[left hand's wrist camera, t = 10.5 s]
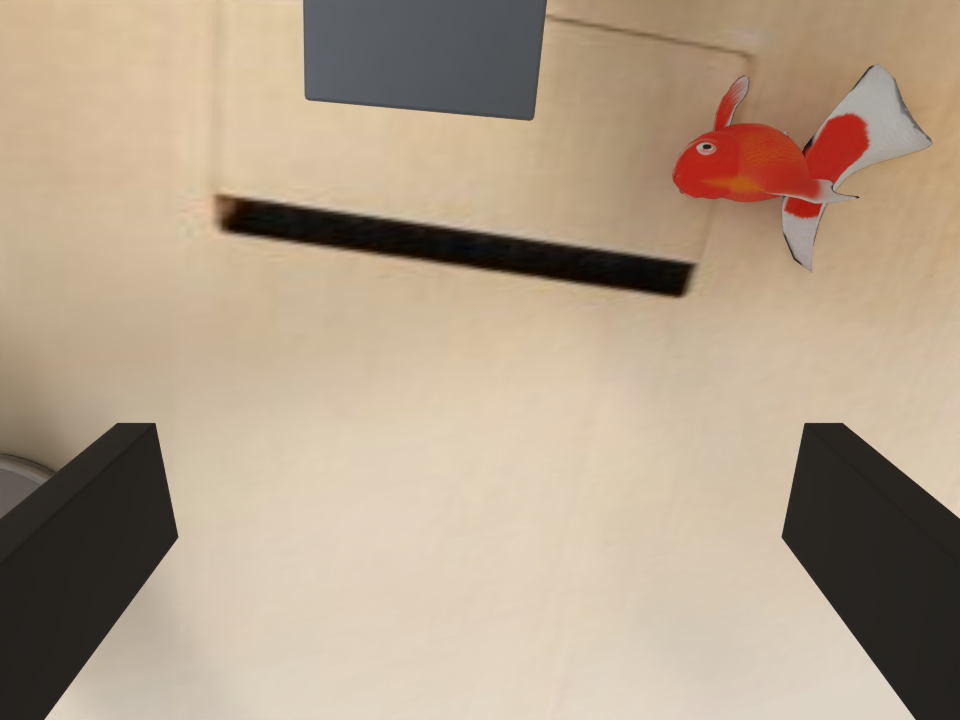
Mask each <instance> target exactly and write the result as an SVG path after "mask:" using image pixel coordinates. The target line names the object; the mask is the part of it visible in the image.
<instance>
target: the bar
mask: <svg viewBox="0 0 960 720" xmlns="http://www.w3.org/2000/svg"><path fill="white" fill-rule="evenodd" d="M546 4H547V0H303V16H304V80H305V98H306V99H307V100H310V101H321V102H332V103H343V104H354V105H365V106H376V107H386V108H397V109H408V110H419V111H430V112H441V113H452V114H463V115H473V116H484V117H495V118H506V119H517V120H528V121H530V120H533V118H534V114H535V105H536V95H537V86H538V77H539V68H540V59H541V50H542V41H543V31H544V22H545V13H546Z"/></svg>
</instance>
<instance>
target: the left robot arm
mask: <svg viewBox="0 0 960 720" xmlns="http://www.w3.org/2000/svg"><path fill="white" fill-rule="evenodd" d="M177 538H178V533H177V528H176V523H175V518H174V513H173V508H172V503H171V498H170V493H169V488H168V483H167V478H166V473H165V469H164V464H163V459H162V454H161V449H160V444H159V439H158V434H157V429H156V424H155V423H117V424H116V425H114V426H113V427H112V428H111V429H110V430H108V431H107V432H106V433H105V434H103V435H102V436H101V437H100V438H99V439H97V440H96V441H95V442H94V443H92V444H91V445H90V446H89V447H87V448H86V449H85V450H84V451H83V452H81V453H80V454H79V455H78V456H76V457H75V458H74V459H73V460H72V461H70V462H69V463H68V464H67V465H65V466H64V467H63V468H62V469H61V470H59V471H58V472H57V473H54V472H52V471H51V470H49V469H47V468H45V467H43V466H41V465H38V464H36V463H33V462H31V461H28V460H25V459H22V458H18V457H14V456H9V455H3V454H0V720H44V719H45V718H46V717H47V715H48V714H49V713H50V711H51V710H52V709H53V707H54V706H55V704H56V703H57V702H58V700H59V699H60V698H61V696H62V695H63V694H64V692H65V691H66V689H67V688H68V687H69V685H70V684H71V683H72V681H73V680H74V679H75V677H76V676H77V675H78V673H79V672H80V670H81V669H82V668H83V666H84V665H85V664H86V662H87V661H88V660H89V658H90V657H91V655H92V654H93V653H94V651H95V650H96V649H97V647H98V646H99V645H100V643H101V642H102V641H103V639H104V638H105V636H106V635H107V634H108V632H109V631H110V630H111V628H112V627H113V626H114V624H115V623H116V621H117V620H118V619H119V617H120V616H121V615H122V613H123V612H124V611H125V609H126V608H127V606H128V605H129V604H130V602H131V601H132V600H133V598H134V597H135V596H136V594H137V593H138V592H139V590H140V589H141V587H142V586H143V585H144V583H145V582H146V581H147V579H148V578H149V577H150V575H151V574H152V572H153V571H154V570H155V568H156V567H157V566H158V564H159V563H160V562H161V560H162V559H163V558H164V556H165V555H166V553H167V552H168V551H169V549H170V548H171V547H172V545H173V544H174V543H175V541H176V540H177ZM782 538H783V540H784V541H785V543H786V544H787V545H788V547H789V548H790V549H791V551H792V552H793V553H794V555H795V556H796V558H797V559H798V560H799V562H800V563H801V564H802V566H803V567H804V568H805V570H806V571H807V572H808V574H809V575H810V577H811V578H812V579H813V581H814V582H815V583H816V585H817V586H818V587H819V589H820V590H821V592H822V593H823V594H824V596H825V597H826V598H827V600H828V601H829V602H830V604H831V605H832V606H833V608H834V609H835V611H836V612H837V613H838V615H839V616H840V617H841V619H842V620H843V621H844V623H845V624H846V626H847V627H848V628H849V630H850V631H851V632H852V634H853V635H854V636H855V638H856V639H857V641H858V642H859V643H860V645H861V646H862V647H863V649H864V650H865V651H866V653H867V654H868V655H869V657H870V658H871V660H872V661H873V662H874V664H875V665H876V666H877V668H878V669H879V670H880V672H881V673H882V674H883V676H884V677H885V679H886V680H887V681H888V683H889V684H890V685H891V687H892V688H893V689H894V691H895V692H896V694H897V695H898V696H899V698H900V699H901V700H902V702H903V703H904V704H905V706H906V707H907V709H908V710H909V711H910V713H911V714H912V715H913V717H914V718H915V719H916V720H960V519H959V518H958V517H957V516H956V515H955V514H953V513H952V512H951V511H950V510H948V509H947V508H946V507H945V506H944V505H942V504H941V503H940V502H939V501H937V500H936V499H935V498H934V497H933V496H931V495H930V494H929V493H928V492H926V491H925V490H924V489H923V488H922V487H920V486H919V485H918V484H917V483H915V482H914V481H913V480H912V479H910V478H909V477H908V476H907V475H906V474H904V473H903V472H902V471H901V470H899V469H898V468H897V467H896V466H895V465H893V464H892V463H891V462H890V461H888V460H887V459H886V458H885V457H884V456H882V455H881V454H880V453H879V452H877V451H876V450H875V449H874V448H873V447H871V446H870V445H869V444H868V443H866V442H865V441H864V440H863V439H861V438H860V437H859V436H858V435H857V434H855V433H854V432H853V431H852V430H850V429H849V428H848V427H847V426H846V425H844V424H843V423H805V424H804V429H803V434H802V439H801V444H800V449H799V454H798V459H797V464H796V469H795V473H794V478H793V483H792V488H791V493H790V498H789V503H788V508H787V513H786V518H785V523H784V528H783V533H782Z"/></svg>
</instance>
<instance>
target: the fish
mask: <svg viewBox="0 0 960 720" xmlns="http://www.w3.org/2000/svg"><path fill="white" fill-rule="evenodd" d="M748 88H749V77H747V76H742V77H740V78H738V79H737V80H736V81H735V82H734V83H733V85H732V86H731V88H730V89H729V91H728V93H727V94H726V95H725V96H724V97H723V98H722V100H721V103H720V105H719V108H718V110H717V113H716V117H715V123H714V129H713V131H711V132H709V133H706V134H703V135H702V136H700V137H699V138H697V139H696V140H694V141H693V142H691V143H690V144H689V145H688V146H686V147H685V148H684V149H683V150H682V152H681V153H680V154H679V156H678V158H677V160H676V162H675V164H674V166H673V173H672V176H673V181H674V183H675V184H676V185H677V187H678V188H679V190H680V192H681V193H683V194H685V195H686V196H688V197H690V198H700V197H701V198H708V199H717V198H720V197H723V198H726V199H730V200H734V201H739V202H755V201H762V200H767V199H771V198H775V197H778V196H781V195H784V197H783V205H782V225H783V232H784V237H785V239H786V241H787V244H788V246H789V249H790V251H791V254H792V256H793V259H794V260H795V261H797V262H798V263H799V264H801V265H802V266H803V267H805V268H806V269H807V270H809V271H810V272H812V252H813V245H814V241H815V237H816V233H817V229H818V225H819V222H820V219H821V217H822V215H823V212H824V210H825V208H826V205H827V203H834V202H840V201H846V200H851V199H857V198H860V197H858V196H849V195H842V194H838V193H836V192H834V191H835V190H836V189H837V187H838V186H839V185H840V184H841V183H842V182H843V181H844V180H845V179H846V178H847V177H848V176H849V175H851V174H853V173H854V172H856V171H858V170H860V169H862V168H865V167H867V166H869V165H872V164H874V163H877V162H881V161H885V160H889V159H893V158H897V157H901V156H904V155H908V154H911V153H914V152H917V151H920V150H923V149H925V148H927V147H929V146H931V145H932V144H933V143H932V141H931V139H930V138H929V137H928V136H927V135H926V134H925V133H924V132H923V131H922V129H921V128H920V127H919V126H918V125H917V123H916V122H915V121H914V119H913V118H912V116H911V114H910V113H909V111H908V109H907V107H906V106H905V104H904V102H903V101H902V98H901V95H900V92H899V89H898V86H897V84H896V81H895V79H894V78H893V77H892V76H891V75H890V74H889V73H888V72H887V71H886V70H885V69H884V68H883V67H882V66H881V65H880V64H876V65H874V66H871V67H869V68H868V69H867V71H866V72H865V73H864V75H863V76H862V77H861V79H860V80H859V81H858V82H857V84H856V85H855V86H854V88H853V89H852V90H851V91H850V92H849V93H848V95H847V96H846V97H845V98H844V99H843V100H842V101H841V103H840V104H839V105H838V106H837V107H836V108H835V110H834V111H833V112H832V113H831V115H830V116H829V117H828V118H827V119H826V121H825V122H824V123H823V124H822V126H821V127H820V128H819V129H818V131H817V132H816V133H815V134H814V136H813V137H812V138H811V139H810V141H809V142H808V143H807V144H806V146H805V147H804V149H803V152H801V150H800V149H799V148H798V146H797V145H796V144H795V143H794V142H793V141H792V140H791V138H790V137H788V132H786V131H785V132H784V133H782V132H780V131H778V130H776V129H774V128H771V127H769V126H767V125H763V124H733V125H730V124H731V122H732V119H733V115H734V112H735V109H736V108H737V106H738V105H739V104H740V102H741V101H742V100H743V98H744V97H745V96H746V94H747V92H748Z"/></svg>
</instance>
